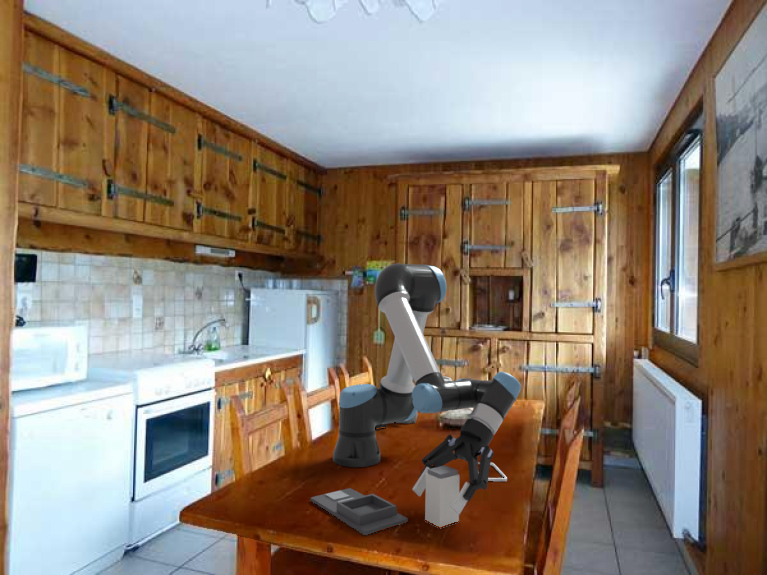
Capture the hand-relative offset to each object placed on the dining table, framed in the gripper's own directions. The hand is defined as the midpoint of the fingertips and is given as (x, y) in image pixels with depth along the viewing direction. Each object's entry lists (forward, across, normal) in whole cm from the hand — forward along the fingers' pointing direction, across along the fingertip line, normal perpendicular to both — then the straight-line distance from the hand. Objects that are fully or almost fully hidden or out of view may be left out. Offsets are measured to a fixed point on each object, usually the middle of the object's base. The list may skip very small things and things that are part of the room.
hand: (434, 501), depth 123 cm
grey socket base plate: (+11, +16, +4) cm, 20 cm away
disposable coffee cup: (-60, +93, -67) cm, 129 cm away
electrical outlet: (-41, +88, -48) cm, 108 cm away
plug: (+2, 0, -5) cm, 6 cm away
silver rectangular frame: (-23, +18, -31) cm, 43 cm away
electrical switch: (-26, +80, -34) cm, 91 cm away
